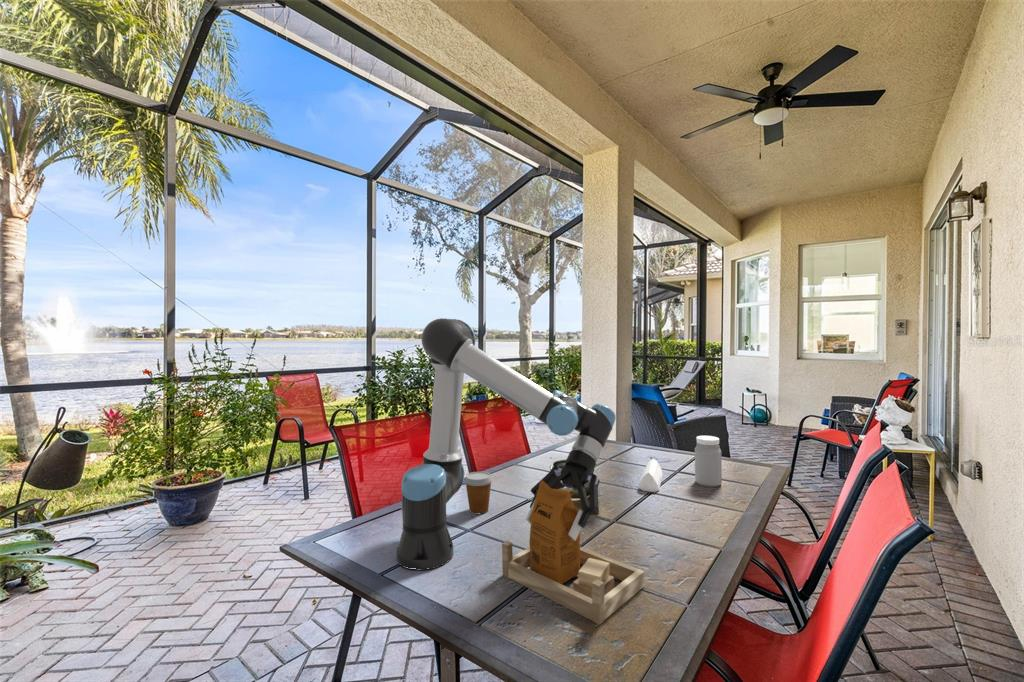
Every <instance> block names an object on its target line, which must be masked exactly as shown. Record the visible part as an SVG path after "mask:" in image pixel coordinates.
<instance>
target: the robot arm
mask: <svg viewBox="0 0 1024 682" xmlns="http://www.w3.org/2000/svg"><path fill="white" fill-rule="evenodd" d="M476 341H477V340H476V335H475V331H474V330H473V328H472V327H471V326H470V325H469V324H468V323H466V322H465V321H463V320H461V319H456V318H454V319H453V318H442V317H441V318H436V319H434V320H432V321H430V322H428V324H427V325H425V327H424V329H423V331H422V334H421V344H422V348H423V350H424V352H425V353H426V354H427V355H428V357H430V365H431V366H432V368H434V379H433V395H432V407H431V420H430V430H429V431H430V432H429V445H428V449H427V450H425V452H423V454H422V455H423V457H422V464H419V465H416V466H413V467H410V468H409V469H408V470H406V471H405V472H404V473H403V476H402V478H401V486H400V490H401V508H402V509H401V510H402V512H401V513H402V532H401V535H400V539H399V542H398V544H397V545H398V547H397V548H396V562H397V561H398V563H400V564H401V565H402V566H405V567H408V568H416V569H427V568H433V567H436V568H438V567H437V566H439V567H441V566H440V565H442V564H444V563H446V562H447V561H448V560H450V559H451V560H452V558H453V557H454V544H453V541H452V537H451V534H450V532H449V529H448V526H447V503H448V502H449V501H451V499H452V498H453V497H454V495H456V494H457V493H458V492H459V490H460V489H461V487H462V485H463V483H464V479H465V476H466V475H465V468H464V465H463V463H462V462H463V454H462V453H461V452H460V450H459V440H460V439H459V437H460V428H461V427H460V425H461V415H462V403H463V391H464V390H463V389H464V375H467V376H469V377H470V378H471V379H473V380H475V381H476V382H478V383H480V384H481V385H483V386H485V388H487V389H488V390H491V391H493V392H494V393H495V394H497V395H499V396H500V397H501V398H503V399H505V400H507V401H509V403H511V404H513V405H515V406H516V407H518V408H520V409H521V410H523V411H524V412H525V413H528V414H530V415H531V416H532V417H534V418H536V419H537V420H539V421H540V422H542V423H543V424H545V426H547V428H548V429H549V430H550V432H552V433H553V434H554V435H556V436H559V437H560V436H561V437H563V436H567V435H570V434H571V433H572V432H573V431H574V430H575V431H577V432H579V433H578V435H577V437H576V439H575V441H574V443H573V445H572V447H571V450H570V452H569V453H568V456H567V457H566V460H565V463H564V467H562V468H561V467H559V466H558V465H557V464H554V465H553V466H552V468H551V469H550V471H549V472H548V473H547V474H546V475H544V476H543V478H541V479H540V480H539V481H538V482H537V483H536V484H535V485H534V486H533V487H532V488H530V493H531V494H533V496H534V497H533V499H532V501H531V502H530V504H529V508H530V509H529V511H528V513H527V515H526V517H525V520H526V522H528V523H529V525H531V517H532V512H533V507H534V502H535V499H536V494H537V491H538V489H539V484H540V481H542V480H543V481H544V482H545V483H546V484H547V485H548V486H549V487H550V488H551V489H560V490H561V489H564V488H567V489H572V490H573V491H574V490H575V491H577V493H578V497H579V501H580V504H581V509H578V510H577V512H578V514H577V516H576V518H575V520H574V523H573V525H572V527H571V529H570V532H569V534H568V535H569V536H570V537H571V538H572V539H573V540H574V541H576V539H577V537H578V534H579V532H580V531H581V529H582V528H585V527H586V525H587V522H588V520H589V518H590V517H591V516H598V515H599V514H600V512H599V511H600V509H599V485H600V483H601V480H600V479H599V477H598V476H597V475H596V474H594V470H595V468H596V464H597V462H598V461H599V458H600V456H601V454H602V452H603V450H604V448H605V446H606V442H607V441H608V438H609V437H610V434H611V432H612V431H613V427H614V425H615V422H616V418H617V417H616V414H615V412H614V410H613V409H612V408H610V407H608V406H607V405H602V404H600V403H597V404H594V405H593V406H591V407H589V406H588V405H585V404H584V403H582V402H580V401H578V400H577V399H575V398H573V397H572V396H570V395H568V394H567V393H565V392H562V391H560V390H557V389H555V390H553V391H552V393H551V392H550V391H548V390H547V389H545V388H543V387H542V386H540V385H538V384H537V383H536V382H534V381H532V380H530V379H529V378H527V377H526V376H524V375H522V374H521V373H519V372H518V371H516V370H514V369H513V368H511V367H510V366H509V365H506V364H504V363H503V362H501V361H500V360H498V359H496V358H495V357H494V356H492V355H489V354H488V353H486V352H485V351H483V350H482V349H480V348H479V347H477V346H475V345H476ZM587 483H588V484H589V500H588V496H587V493H586V492H587V491H586V488H585V485H586V484H587ZM580 533H581V532H580ZM452 556H453V557H452ZM451 560H450V561H451ZM448 562H449V561H448ZM448 562H447V563H448ZM398 563H397V564H398ZM447 563H446V564H447ZM444 565H445V564H444ZM402 566H401V567H402ZM442 566H443V565H442ZM433 569H434V568H433ZM427 570H428V569H427Z"/></svg>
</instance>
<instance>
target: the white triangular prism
mask: <svg viewBox="0 0 1024 682" xmlns="http://www.w3.org/2000/svg"><path fill="white" fill-rule="evenodd" d="M663 476H664V475H663V470H662V468H661V466H660V463H659V462H658V461H657V460H656V459H654V458H652V459H651V460H649V462H647V464H646V466H645V467H644V470H643V473H642V474H641V478H640V480H639V485H638V489H639V490H641V491H644V492H649V493H650V492H651V493H655V492H658V491H660V488H661V485H662V484H661V483H662V479H663Z"/></svg>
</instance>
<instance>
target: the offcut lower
mask: <svg viewBox="0 0 1024 682" xmlns="http://www.w3.org/2000/svg"><path fill="white" fill-rule="evenodd" d="M572 584H573V585H572V586H573V587H572V588H573V589H572V590H575V591H577V592H579V593H581V594H583V595H585V596H587V597H589V598H592V588H590V587H587V586H583V585H580V584H579V577H578V578H577V579H576V580H574V581H573V582H572ZM614 588H615V578H614V577H613V576H610V575H609V577H608V579H607V580H606V582H605V583H604V596H605V595H606V594H607V593H608V592H610V591H611V590H612V589H614Z"/></svg>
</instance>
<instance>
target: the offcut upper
mask: <svg viewBox="0 0 1024 682" xmlns="http://www.w3.org/2000/svg"><path fill="white" fill-rule="evenodd" d="M609 575H610V563H608V562H604V561H600V560H596V559H592V558H589V559H588V560H587V561H586V563H585V564H584V565H583V564H582V566H581V567H580V570H579V574H578V578H579V584H580V585H583V586H587V587H590V588H592V582H594V581H595V580H596V579H597V580H599V581H602V582H604V583H605V582H606V580H607V579H608V577H609Z"/></svg>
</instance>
